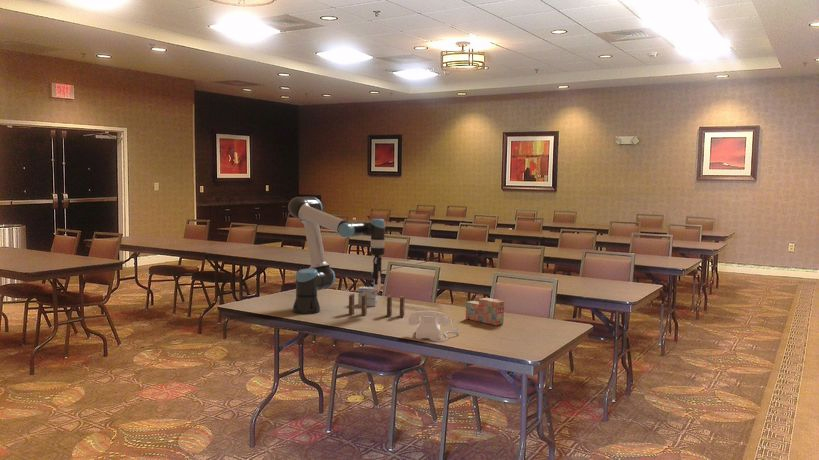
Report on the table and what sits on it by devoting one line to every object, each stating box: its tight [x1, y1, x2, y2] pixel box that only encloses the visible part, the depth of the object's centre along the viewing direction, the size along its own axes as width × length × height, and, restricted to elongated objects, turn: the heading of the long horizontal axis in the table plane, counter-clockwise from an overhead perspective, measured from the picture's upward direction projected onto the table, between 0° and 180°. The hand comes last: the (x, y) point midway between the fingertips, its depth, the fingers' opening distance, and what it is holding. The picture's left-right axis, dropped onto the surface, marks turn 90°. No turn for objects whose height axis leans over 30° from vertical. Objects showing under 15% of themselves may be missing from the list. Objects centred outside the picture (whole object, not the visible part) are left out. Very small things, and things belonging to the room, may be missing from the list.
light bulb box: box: [357, 286, 378, 307], centre depth 380 cm, size 11×7×11 cm, turn 84°
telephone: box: [408, 310, 461, 343], centre depth 305 cm, size 25×21×12 cm
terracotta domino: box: [375, 271, 381, 294], centre depth 350 cm, size 2×6×11 cm, turn 173°
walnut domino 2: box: [360, 294, 368, 317], centre depth 352 cm, size 2×6×11 cm, turn 173°
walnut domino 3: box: [386, 294, 393, 318], centre depth 350 cm, size 2×6×11 cm, turn 174°
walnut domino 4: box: [399, 295, 406, 318], centre depth 349 cm, size 2×6×11 cm, turn 173°
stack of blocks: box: [465, 297, 505, 326], centre depth 342 cm, size 21×6×12 cm, turn 44°
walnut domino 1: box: [348, 293, 355, 316], centre depth 353 cm, size 2×6×11 cm, turn 174°
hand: (377, 289), depth 350 cm, fingers closed on terracotta domino, 6 cm apart
